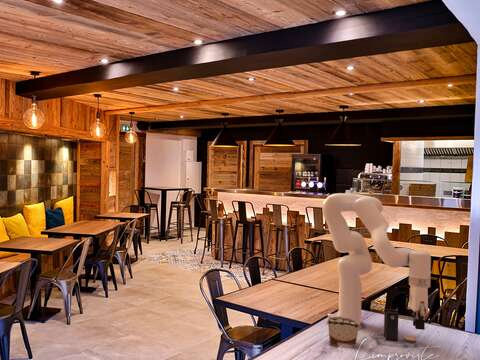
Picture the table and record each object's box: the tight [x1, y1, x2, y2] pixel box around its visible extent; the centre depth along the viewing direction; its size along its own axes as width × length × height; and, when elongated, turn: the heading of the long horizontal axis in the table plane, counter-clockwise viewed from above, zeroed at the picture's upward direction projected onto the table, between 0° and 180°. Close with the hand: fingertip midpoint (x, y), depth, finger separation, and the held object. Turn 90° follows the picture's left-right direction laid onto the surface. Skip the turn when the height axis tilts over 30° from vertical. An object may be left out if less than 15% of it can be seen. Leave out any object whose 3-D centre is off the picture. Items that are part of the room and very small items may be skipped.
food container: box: [326, 317, 361, 347], centre depth 186 cm, size 12×6×10 cm, turn 71°
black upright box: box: [383, 308, 400, 343], centre depth 189 cm, size 10×8×13 cm
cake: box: [402, 334, 417, 344], centre depth 187 cm, size 5×5×3 cm
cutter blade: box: [387, 311, 416, 321], centre depth 187 cm, size 13×3×3 cm, turn 73°
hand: (418, 327), depth 186 cm, fingers closed on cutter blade, 3 cm apart
